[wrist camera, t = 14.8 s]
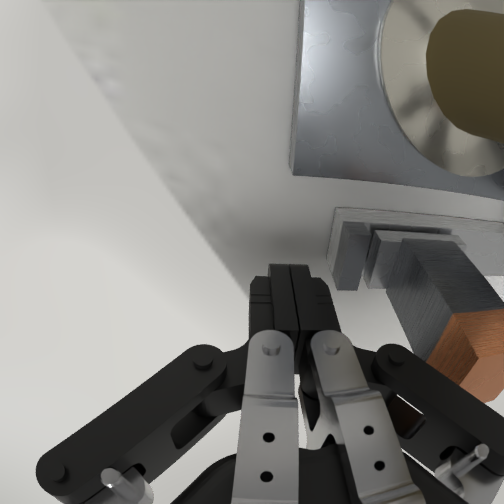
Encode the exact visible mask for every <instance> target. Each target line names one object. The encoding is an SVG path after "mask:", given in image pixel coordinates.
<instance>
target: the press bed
mask: <svg viewBox="0 0 504 504" xmlns="http://www.w3.org/2000/svg"><path fill="white" fill-rule="evenodd" d="M462 9H472V10H480V11H488V12H494V13H500V14H504V0H300V5H299V25H298V43H297V60H296V76H295V91H294V105H293V118H292V131H291V144H290V156H289V166H290V169H291V172H292V174H293V175H296V176H312V177H326V178H338V179H350V180H361V181H371V182H380V183H390V184H398V185H406V186H414V187H422V188H429V189H437V190H443V191H450V192H457V193H463V194H469V195H475V196H481V197H487V198H492V199H497V200H503V201H504V144H503V143H500V142H496V141H493V140H489V139H485V138H482V137H478V136H474V135H471V134H469V133H466V132H464V131H462V130H460V129H458V128H456V127H455V126H454V125H453V124H452V123H451V122H450V121H449V120H448V119H447V118H446V117H445V116H444V115H443V113H442V111H441V109H440V108H439V106H438V104H437V103H436V101H435V99H434V98H433V95H432V91H431V88H430V84H429V81H428V78H427V69H426V50H427V45H428V41H429V36H430V33H431V32H432V30H433V28H434V27H435V25H436V24H437V22H438V20H439V19H441V18H442V17H444V16H445V15H447V14H448V13H450V12H451V11H455V10H462Z"/></svg>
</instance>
